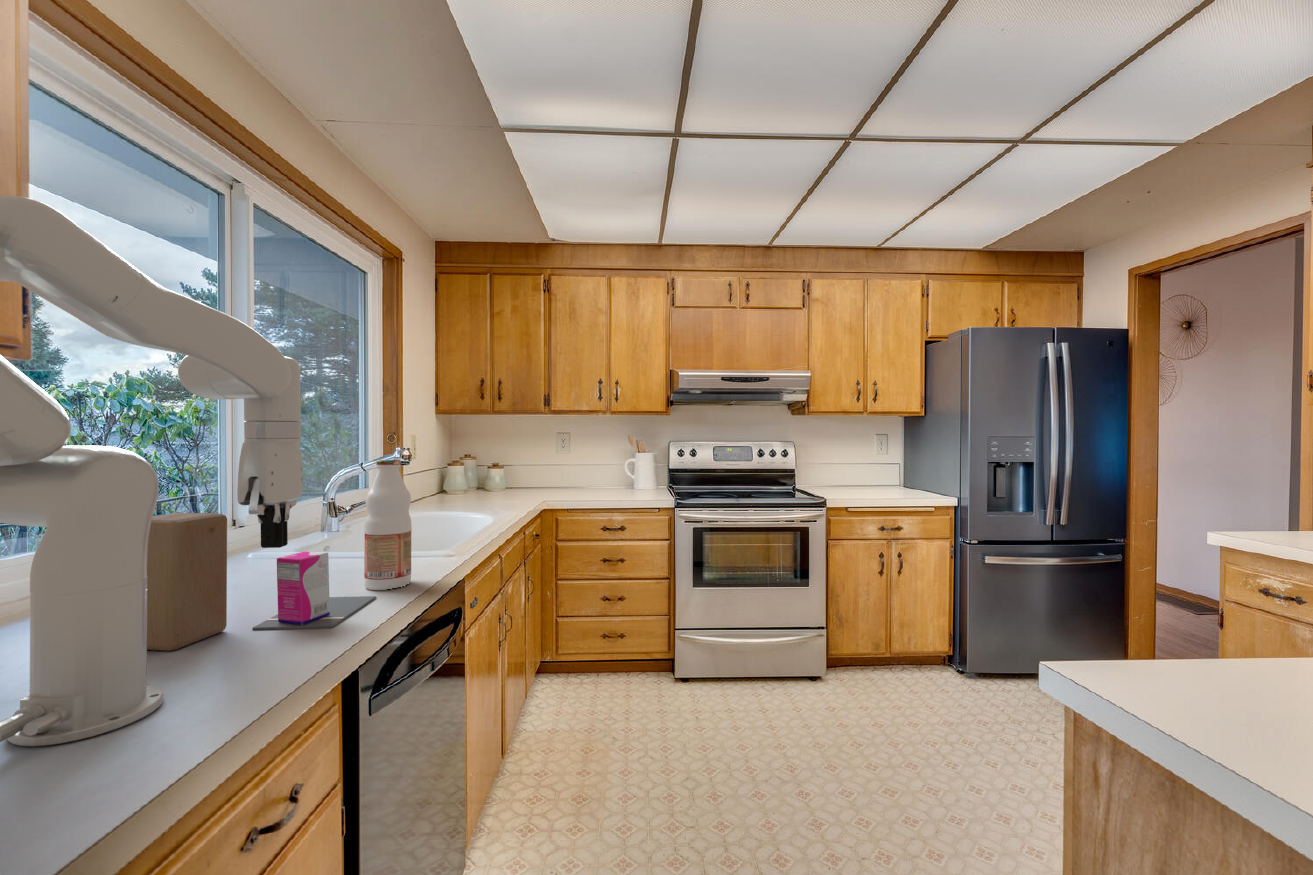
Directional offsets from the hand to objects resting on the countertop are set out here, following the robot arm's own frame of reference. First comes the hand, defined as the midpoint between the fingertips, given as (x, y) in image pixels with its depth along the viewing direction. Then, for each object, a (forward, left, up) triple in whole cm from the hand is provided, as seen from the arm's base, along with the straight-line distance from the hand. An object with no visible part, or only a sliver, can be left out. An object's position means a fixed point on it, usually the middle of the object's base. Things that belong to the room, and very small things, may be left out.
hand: (274, 546), depth 89 cm
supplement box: (+9, 0, -15) cm, 18 cm away
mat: (+15, 0, -15) cm, 21 cm away
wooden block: (+2, +16, -15) cm, 22 cm away
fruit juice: (+34, -5, -15) cm, 37 cm away
